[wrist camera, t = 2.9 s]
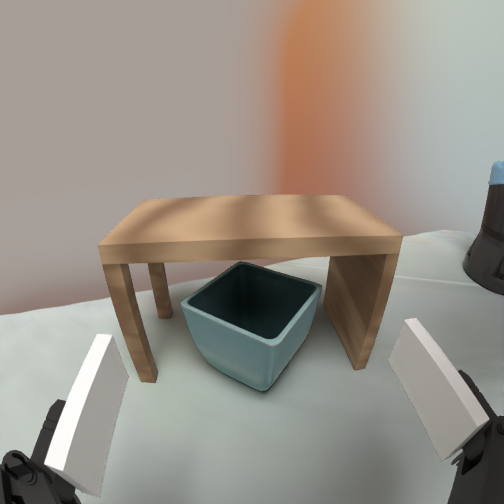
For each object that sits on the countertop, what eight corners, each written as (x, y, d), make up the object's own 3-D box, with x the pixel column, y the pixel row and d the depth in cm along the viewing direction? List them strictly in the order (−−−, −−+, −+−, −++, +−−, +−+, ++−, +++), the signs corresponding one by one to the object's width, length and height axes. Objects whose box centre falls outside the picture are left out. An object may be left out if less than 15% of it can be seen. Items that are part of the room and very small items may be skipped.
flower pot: (270, 417, 21) (276, 345, 17) (191, 375, 25) (176, 301, 21) (312, 356, 28) (324, 283, 24) (242, 328, 32) (240, 259, 28)
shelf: (331, 303, 36) (346, 195, 30) (364, 368, 25) (402, 235, 19) (161, 310, 35) (142, 200, 29) (141, 381, 24) (97, 245, 18)
